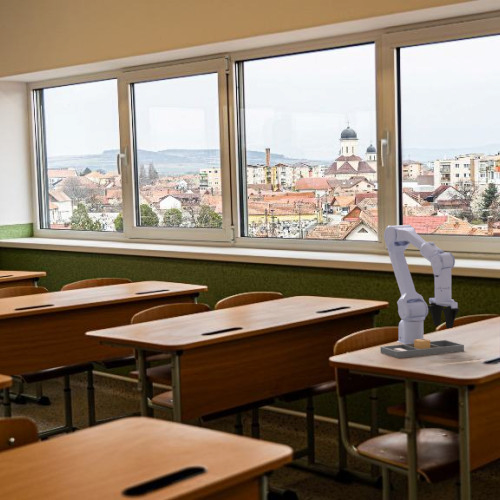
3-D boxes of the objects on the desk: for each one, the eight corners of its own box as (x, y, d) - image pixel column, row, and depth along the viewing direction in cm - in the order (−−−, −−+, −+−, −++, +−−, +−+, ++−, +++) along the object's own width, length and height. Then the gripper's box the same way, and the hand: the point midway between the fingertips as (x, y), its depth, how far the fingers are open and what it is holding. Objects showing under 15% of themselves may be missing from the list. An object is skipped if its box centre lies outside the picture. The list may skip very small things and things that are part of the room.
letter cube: (414, 351, 316) (413, 339, 316) (424, 350, 317) (423, 338, 317) (420, 353, 312) (420, 341, 312) (430, 351, 314) (430, 340, 313)
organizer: (380, 353, 315) (380, 346, 315) (445, 346, 325) (445, 339, 325) (397, 359, 305) (397, 352, 305) (463, 351, 315) (463, 344, 314)
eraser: (393, 352, 313) (393, 348, 313) (399, 352, 314) (399, 348, 314) (401, 355, 309) (401, 351, 309) (407, 354, 310) (407, 350, 310)
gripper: (465, 289, 311) (465, 328, 312) (440, 284, 325) (441, 322, 326) (447, 290, 308) (447, 330, 310) (423, 286, 322) (424, 324, 323)
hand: (443, 326), depth 317 cm, fingers open, 7 cm apart
